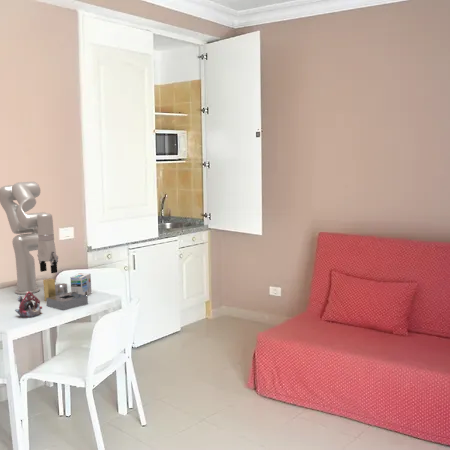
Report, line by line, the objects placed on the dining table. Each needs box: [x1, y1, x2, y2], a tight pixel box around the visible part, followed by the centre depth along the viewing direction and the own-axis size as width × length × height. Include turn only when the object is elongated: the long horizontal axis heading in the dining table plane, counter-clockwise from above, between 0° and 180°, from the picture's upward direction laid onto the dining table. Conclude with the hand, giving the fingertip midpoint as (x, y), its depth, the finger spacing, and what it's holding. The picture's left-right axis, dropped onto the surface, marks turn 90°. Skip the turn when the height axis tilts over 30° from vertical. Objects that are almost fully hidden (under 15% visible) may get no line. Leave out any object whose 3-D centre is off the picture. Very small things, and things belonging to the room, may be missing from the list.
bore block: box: [45, 291, 89, 311], centre depth 271 cm, size 14×14×4 cm
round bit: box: [55, 283, 69, 296], centre depth 290 cm, size 6×6×6 cm
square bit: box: [42, 277, 56, 302], centre depth 280 cm, size 4×4×11 cm
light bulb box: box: [69, 273, 92, 296], centre depth 290 cm, size 11×7×11 cm, turn 168°
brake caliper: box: [14, 292, 43, 318], centre depth 255 cm, size 11×11×12 cm
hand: (48, 272), depth 279 cm, fingers open, 9 cm apart
